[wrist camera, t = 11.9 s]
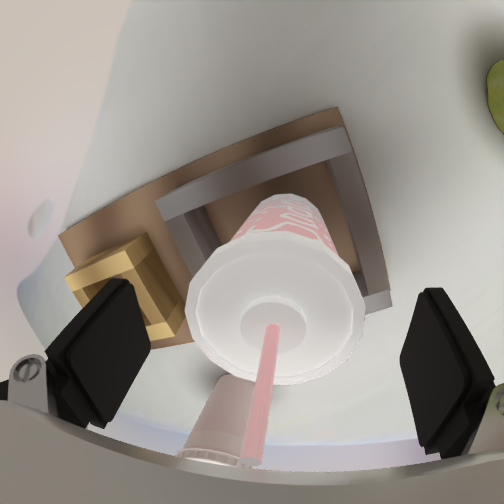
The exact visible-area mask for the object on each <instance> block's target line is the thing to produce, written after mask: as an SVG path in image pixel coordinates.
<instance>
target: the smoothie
mask: <svg viewBox="0 0 504 504" xmlns="http://www.w3.org/2000/svg"><path fill="white" fill-rule="evenodd" d="M254 388H255V384H254V382H253V381H250V380H246V379H243V378H239V377H236V376H234V375H232V374H226V375H223V376H221V377H220V378H219V379H218V381H217V383H216V385H215V387H214V388H213V390H212V392H211V394H210V396H209V398H208V400H207V402H206V404H205V406H204V408H203V410H202V412H201V414H200V416H199V418H198V420H197V422H196V424H195V426H194V428H193V430H192V432H191V433H190V435H189V437H188V439H187V441H186V443H185V445H184V447H183V449H181V450H179V451H177V452H176V454H175V456H176V457H181V458H186V459H191V460H196V461H201V462H207V463H212V464H219V465H225V466H233V467H241V468H249V469H257V468H256V467H255V466H248V465H245V464H242V463H241V462H240V456H241V451H242V446H243V441H244V437H245V432H246V427H247V422H248V417H249V413H250V408H251V403H252V398H253V393H254Z"/></svg>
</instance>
